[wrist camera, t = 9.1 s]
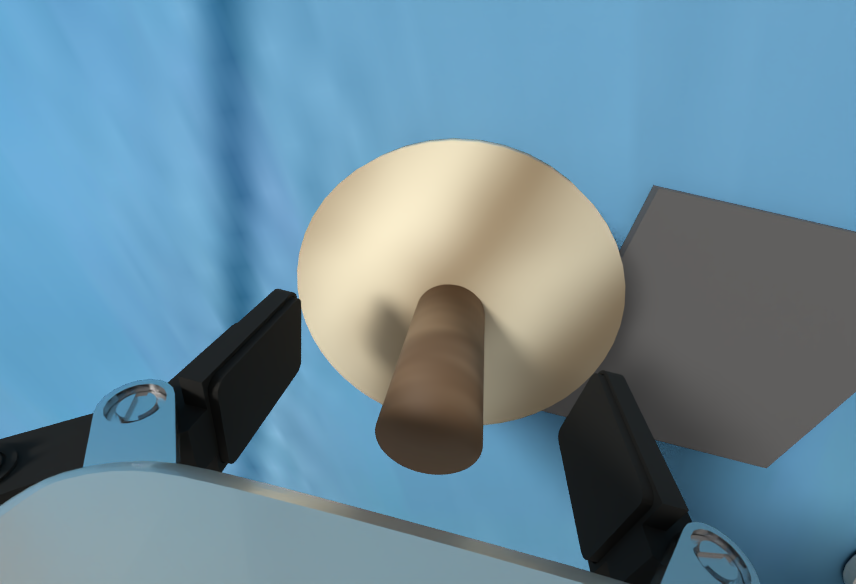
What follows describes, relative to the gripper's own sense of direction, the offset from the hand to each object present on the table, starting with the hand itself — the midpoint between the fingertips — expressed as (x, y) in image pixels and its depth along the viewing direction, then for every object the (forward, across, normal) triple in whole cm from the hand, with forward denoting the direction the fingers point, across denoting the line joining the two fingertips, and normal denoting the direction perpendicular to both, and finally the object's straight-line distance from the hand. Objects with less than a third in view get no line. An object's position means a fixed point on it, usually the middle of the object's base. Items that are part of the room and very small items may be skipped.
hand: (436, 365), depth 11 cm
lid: (+4, 0, 0) cm, 4 cm away
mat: (+10, -16, +2) cm, 18 cm away
